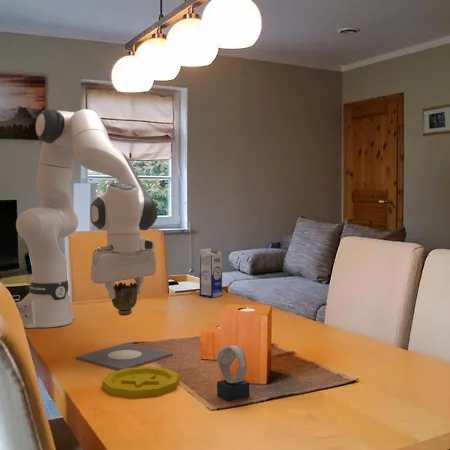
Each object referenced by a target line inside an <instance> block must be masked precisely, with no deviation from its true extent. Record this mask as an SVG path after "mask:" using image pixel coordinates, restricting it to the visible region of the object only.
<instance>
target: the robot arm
mask: <svg viewBox="0 0 450 450" xmlns="http://www.w3.org/2000/svg"><path fill="white" fill-rule="evenodd" d="M35 120H36V122H35V134H36V136H37V139H39V141H41V142H42V146H41V150H40V154H39V158H38V159H39V160H38V164H37V165H38V167H37V174H36V181H35V182H36V183H35V187H36V190H37V191H38V192H39V193H40V197H41V202H42V203H41V204H42V206H39V207H37V206H35V207H32V208H31V207H30V208H29V209H27V210H24V211H21V213H20V214H19V215H18V216H17V218H16V222H15V228H16V232H17V233H18V235H19V236H20V237H21V238H22V239H23V240H24V241H25V244H26V247H27V248H28V251H29V254H30V261H31V274H32V275H31V280H32V281H31V282H28V283H27V284H28V285H27V287H28V288H29V290H28V292H29V293H27V295H26V296H25V297H24V298H23V299H22V300H20V301H19V303H18V304H17V308H18V309H19V312H20V315H21V318H22V320H23V324H24V327H23V328H25V329H34V328H35V329H36V328H55V327H60V326H62V327H63V326H67V325H70V324H72V323H73V321H74V320H75V315H74V314H73V311H72V310H73V309H72V303H71V296H70V295H69V293H68V291H69V280H68V275H67V273H68V272H67V271H68V268H67V257H66V255H65V254H64V253H63V252H62V251H61V248H60V246H59V242H58V239H64V238H66V237H68V236H70V235H72V234H73V233H75V231H76V230H77V229H78V226H79V217H78V214H77V213H76V211H74V207H73V203H72V181H73V180H72V179H73V174H74V166H75V165H74V164H75V158H76V161H78V163H79V165H81V166H82V167H83V168H85V169H87V170H89V171H92V172H94V173H95V172H96V173H100V174H104V175H107V176H110V177H112V178H113V179H116V180H117V181H118V182H113V183H110V184H108V186H107V190H106V192H105V193H104V194H102V195H101V196H98V197H96V198H95V199H94V200H93V201H92V202H91V204H90V211H89V212H90V223H92V225H93V226H94V227H95V228H96V229H98V230H101V231H106V246H97V247H96V248H95V249H94V250H93V252H92V255H91V256H92V261H91V267H90V280H91V282H92V283H93V284H99V285H101V284H104V286H105V288H106V290H107V292H108V298H109V299H110V300H112V299H116V298H117V294H116V292H115V290H114V288H113V286H114V285H115V282H121V281H125V280H132V279H133V280H134V281H135V282H134V283H136V285H137V284H138V291H137V295H140V294H141V287H142V285H143V282H144V278H145V277H150V276H154V275H155V273H156V271H157V259H156V252H155V250H154V249H155V247H156V243H155V241H153V240H152V239H151V240H150V239H148V238H144V237H142V236H141V234H142V233H141V231H147V230H149V229H150V228H152V227H153V225H154V224H155V223H156V221H157V218H158V207H157V205H156V203H155V201H154V199H153V198H152V197H151V196H150V194H149V193H148V191H147V190H146V188H145V187H144V185H143V182H142V181H141V179H140V177H139V175H138V174H137V172H136V170H135V168H134V166H133V164H132V163H131V161H130V160H129V158H128V157H127V155H125V154H124V153H123V152H121V151H120V150H119V149H117V147H116V146H115V145H114V144H113V142H112V141H111V139H110V137H109V134H108V131H107V127H106V123H105V122H104V120H103V119H101V118H100V116H99V114H97V112H95V111H94V110H92V109H87V108H85V109H80V110H77V111H67V110H57V109H53V108H47V109H43V110H42V111H41V112H39V113H38V115H37V118H36V119H35Z"/></svg>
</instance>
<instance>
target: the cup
mask: <svg viewBox="0 0 450 450" xmlns="http://www.w3.org/2000/svg"><path fill="white" fill-rule="evenodd" d="M113 288H114V290H115V292H116V294H117V298H116V299H111V303H112V306H113V307H114V308H115V309H116V310H117V314H118V315H119V316H122V317H123V316H125V317H127V316H129V315H131V314H132V313H133V310H132V309H133V308H134V307H135V306H136V304H137V299H138V294H137V291H138V284H137V285H136V283H135V282H134V283H132V282H130V283H129V284H128V285H127V284H126V282H124V283H123V282H121V281H119V283H118V284H117V283H115V282H114V286H113Z"/></svg>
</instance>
